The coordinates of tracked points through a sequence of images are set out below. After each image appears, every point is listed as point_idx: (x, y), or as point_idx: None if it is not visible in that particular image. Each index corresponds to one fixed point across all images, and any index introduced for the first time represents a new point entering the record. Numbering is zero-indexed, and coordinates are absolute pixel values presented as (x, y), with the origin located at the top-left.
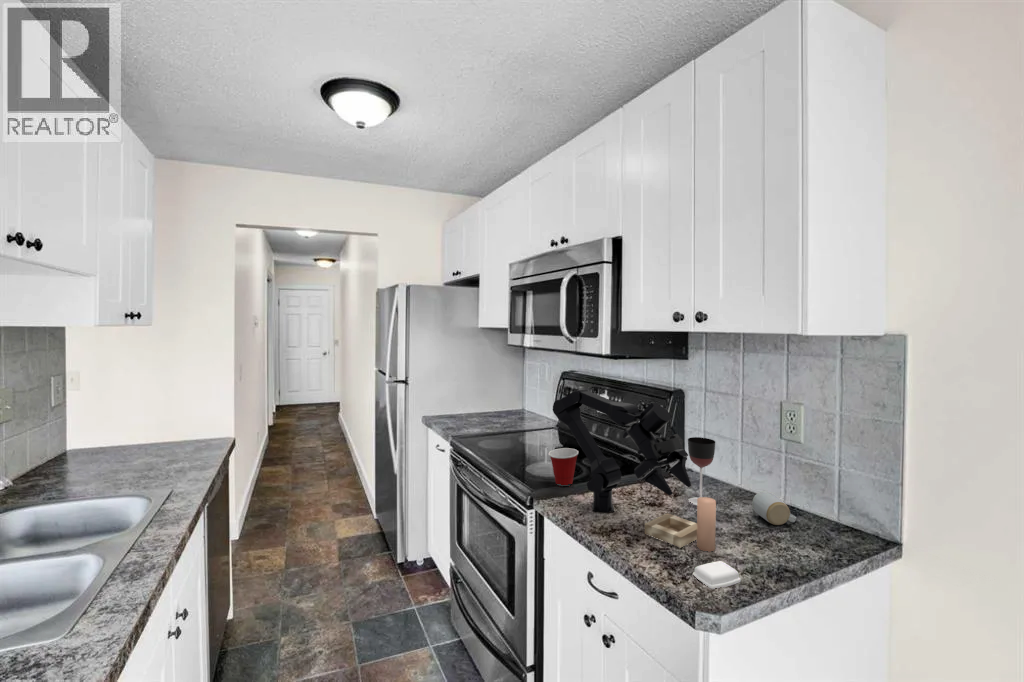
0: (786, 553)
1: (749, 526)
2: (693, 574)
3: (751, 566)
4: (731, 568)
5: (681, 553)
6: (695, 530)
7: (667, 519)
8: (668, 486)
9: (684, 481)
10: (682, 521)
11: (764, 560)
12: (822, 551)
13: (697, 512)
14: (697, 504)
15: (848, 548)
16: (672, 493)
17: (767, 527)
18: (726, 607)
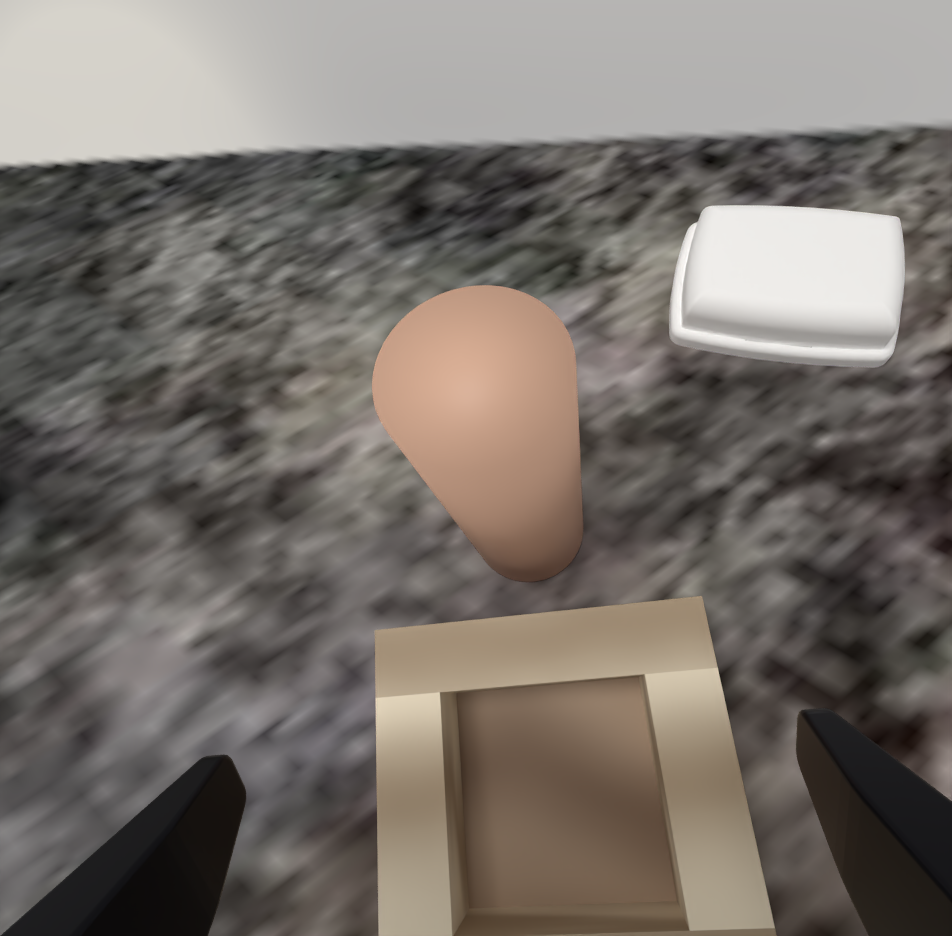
0: (260, 292)
1: (64, 557)
2: (892, 350)
3: None
4: (724, 219)
5: (734, 566)
6: (486, 620)
7: (494, 934)
8: (906, 808)
9: (187, 907)
10: (431, 794)
11: (405, 296)
12: (137, 240)
13: (556, 486)
14: (549, 458)
15: (46, 215)
16: (802, 710)
17: (20, 493)
18: (946, 136)
